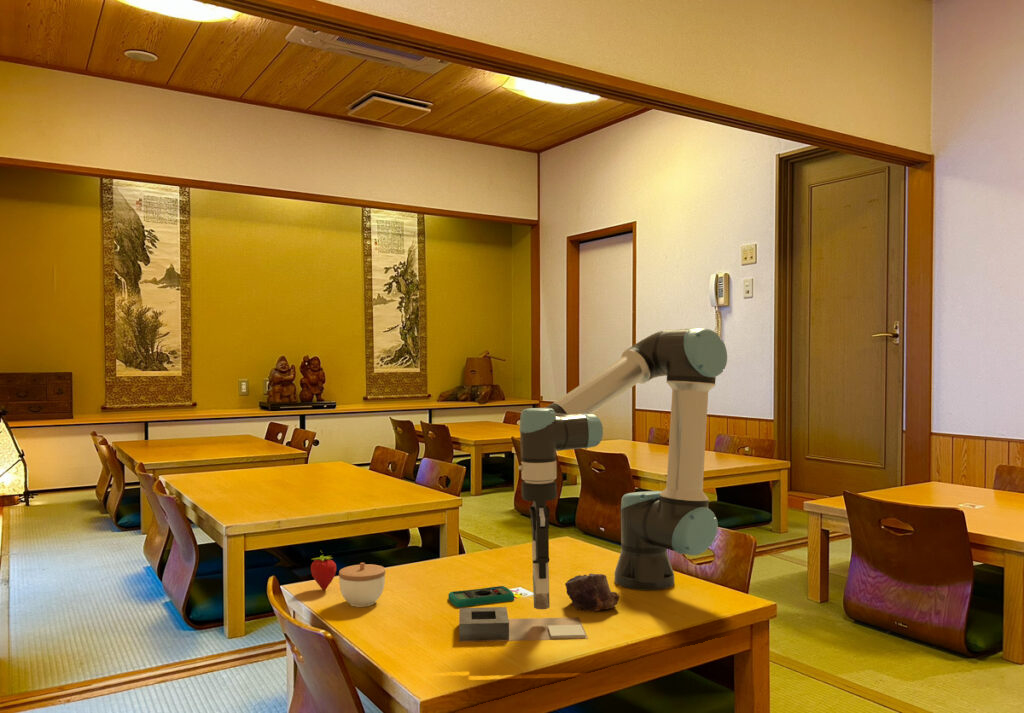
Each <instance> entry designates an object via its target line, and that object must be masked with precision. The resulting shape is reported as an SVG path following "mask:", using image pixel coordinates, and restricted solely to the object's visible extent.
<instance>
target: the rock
mask: <svg viewBox="0 0 1024 713" xmlns="http://www.w3.org/2000/svg"><path fill="white" fill-rule="evenodd" d="M564 585H565V587H566V588H565V589H566V595H567V596H568V597H569V599H570V600H571V602H572V605H573V606H574V608H575V609H576V610H580V611H581V610H583V611H587V612H600V611H602V610H608V609H613V608H616V606H617V605H618V604H619V603H618V602H619V600H620V595H619V593H618V592H615V591H612V590H611V589H610V588H611V587H610V586H609V582H608V579H607V575H605V574H602V573H600V574H599V573H589V574H588V575H587V574H583V575H582V574H579V575H575V576H574V577H571V578H570V579H568V580H567V582H565V583H564Z"/></svg>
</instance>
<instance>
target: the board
mask: <svg viewBox="0 0 1024 713" xmlns="http://www.w3.org/2000/svg"><path fill="white" fill-rule="evenodd" d="M508 620H509V640H477V641H459V640H458V641H459V643H470V642H471V643H473V642H474V643H477V642H478V643H479V642H480V643H481V642H482V643H483V642H515V641H518V642H519V641H520V642H521V641H552V640H553V641H556V640H561V641H562V640H589V637H588V635H587V633H586V631H585V630H586V629H585V628H584V626H583V623H582V621H581V619H580V617H578V616H576V617H575V616H574V617H573V616H572V617H540V618H539V617H536V618H535V617H533V618H532V617H531V618H527V617H526V618H508ZM549 625H581V626H582V628H583V631H584V633H585V638H557V639H551V637H550V634H549V630H548V626H549Z"/></svg>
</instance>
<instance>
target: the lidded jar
mask: <svg viewBox="0 0 1024 713" xmlns="http://www.w3.org/2000/svg"><path fill="white" fill-rule="evenodd" d="M338 577H339V588H340V593H341V595H342V597H343V599H344V600H345V601H346V603H348V604H350V605H351V607H354V606H355V607H354V608H363V607H365V608H366V607H370V606H373V605H375V604H376V601H378V600H379V598H380V597H381V595H382V594H383V591H384V589H385V582H386V580H385V578H386V567H384V566H383V565H377V564H372V563H371V564H366V563H365V562H360V563H359V564H354V565H353V564H352V565H349V566H345V567H343V568H341V569H340V570H339V572H338ZM350 605H349V606H350Z"/></svg>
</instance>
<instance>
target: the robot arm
mask: <svg viewBox="0 0 1024 713" xmlns="http://www.w3.org/2000/svg"><path fill="white" fill-rule="evenodd" d="M727 351H728V350H727V348H726V345H725V342H724V340H723V339H721V336H720V335H719V334H718V333H717V332H716V331H714V330H712V329H709V328H703V327H702V328H701V327H692V328H691V327H690V328H680V329H678V328H677V329H665V330H664V329H663V330H660V331H657V332H655V333H653V334H651V335H649V336H647V337H644V339H641V340H640V341H639V342H637V343H635V344H634V345H632V346H631V347H629V348H627V349H625V350H624V351H623V352H622V354H621V356H620V358H619V359H618V360H616V361H614V362H613V363H612V364H610V365H609V366H607V367H605V368H604V369H603V370H601V371H599V372H598V373H597V374H595V375H593V376H592V377H591V378H589V379H588V380H586V381H584V382H583V383H581V384H580V385H578V386H577V387H574V389H572V390H571V391H569V392H567V393H566V394H565V395H563V396H562V397H560V398H558V399H557V400H555V401H554V402H553V403H551V404H548V405H547V406H545V407H531V408H525V409H523V410H522V411H521V413H520V419H519V435H520V436H519V437H520V441H519V442H520V461H521V462H520V464H521V465H518V466H517V468H518V470H519V471H521V472H520V473H521V480H523V481H522V482H521V498H522V500H524V501H526V502H532V505H530V506H529V514H530V524H531V534H532V535H531V536H532V538H531V539H532V541H534V540H535V544H536V560H533V559H532V564H533V563H535V579H536V594H542V593H549V594H550V576H549V577H548V563H549V562H550V550H549V549H550V546H549V545H550V542H549V540H550V539H549V536H550V535H549V529H550V515H551V514H550V511H551V510H550V508H549V506H548V505H547V502H548V501H553V500H555V499H557V498H558V497H557V495H558V494H557V493H558V490H557V489H558V487H557V482H556V479H557V452H560V451H567V450H568V451H569V450H579V449H580V450H581V449H585V450H587V449H589V448H594V447H597V446H599V445H600V443H601V442H602V441H603V437H604V426H603V423H602V421H601V419H600V417H598V416H597V415H596V414H594V413H596V412H597V411H599V410H600V409H602V408H603V407H605V406H606V405H607V404H610V403H611V402H612V401H613V400H616V398H618V397H619V396H621V395H623V394H624V393H626V392H627V391H628V390H630V389H631V388H633V387H634V386H636V385H638V384H646V383H647V382H649V381H650V380H652V379H654V378H659V377H664V376H665V377H666V383H667V385H668V386H669V387H670V388H671V390H672V391H671V407H670V425H669V436H668V437H669V439H668V440H669V441H668V455H667V470H666V473H667V474H666V487H665V489H663V490H662V491H661V490H655V491H654V490H649V491H637V492H636V491H635V492H628V493H625V494H623V496H622V497H621V501H620V502H621V503H620V504H621V505H620V533H621V534H620V535H621V536H620V540H621V541H620V542H621V544H620V545H621V546H620V547H621V549H620V555H619V558H618V561H617V564H616V567H615V570H614V583H616V585H619V586H621V587H624V588H627V589H630V590H631V589H632V590H638V591H639V590H641V591H660V590H665V589H669V588H671V587H673V586H674V585H675V572H674V570H673V567H672V564H671V561H670V557H669V555H668V550H670V551H672V552H675V553H677V554H680V555H688V556H698V555H702V554H703V553H705V552H706V551H708V549H709V548H710V547H711V546H712V545H713V543H714V541H715V539H716V536H717V534H718V528H719V527H718V526H719V525H718V524H719V523H718V519H717V517H716V514H715V513H714V512H713V511H712V509H710V508H709V502H710V501H709V497H708V495H706V493H705V492H704V490H703V489H704V475H705V474H704V471H705V458H706V456H705V455H706V454H705V452H706V442H707V441H706V440H707V439H706V438H707V437H706V436H707V421H708V418H707V417H708V403H709V402H708V401H709V392H710V391H711V390H712V389H713V388H714V387H715V386H716V379H717V378H716V377H718V376H720V375H721V374H722V373H723V372H724V371H723V370H725V369H726V367H727V364H728V352H727Z"/></svg>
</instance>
